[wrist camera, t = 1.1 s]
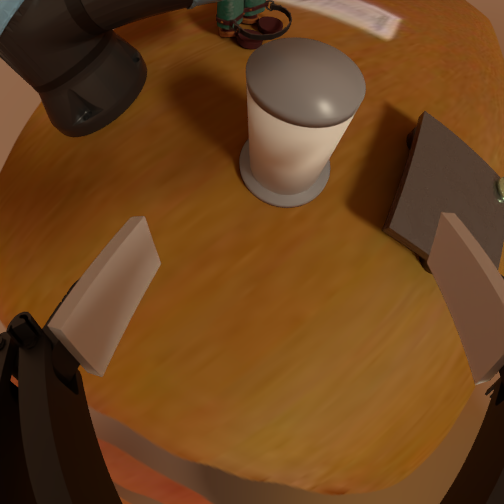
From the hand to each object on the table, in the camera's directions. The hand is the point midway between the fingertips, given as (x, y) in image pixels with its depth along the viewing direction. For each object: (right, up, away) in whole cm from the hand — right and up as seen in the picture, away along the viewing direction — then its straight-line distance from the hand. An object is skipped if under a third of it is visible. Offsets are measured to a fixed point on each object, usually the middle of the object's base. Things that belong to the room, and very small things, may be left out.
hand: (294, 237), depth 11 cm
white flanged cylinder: (+2, +8, +15) cm, 17 cm away
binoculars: (-1, +30, +18) cm, 35 cm away
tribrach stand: (+21, +4, +15) cm, 26 cm away
